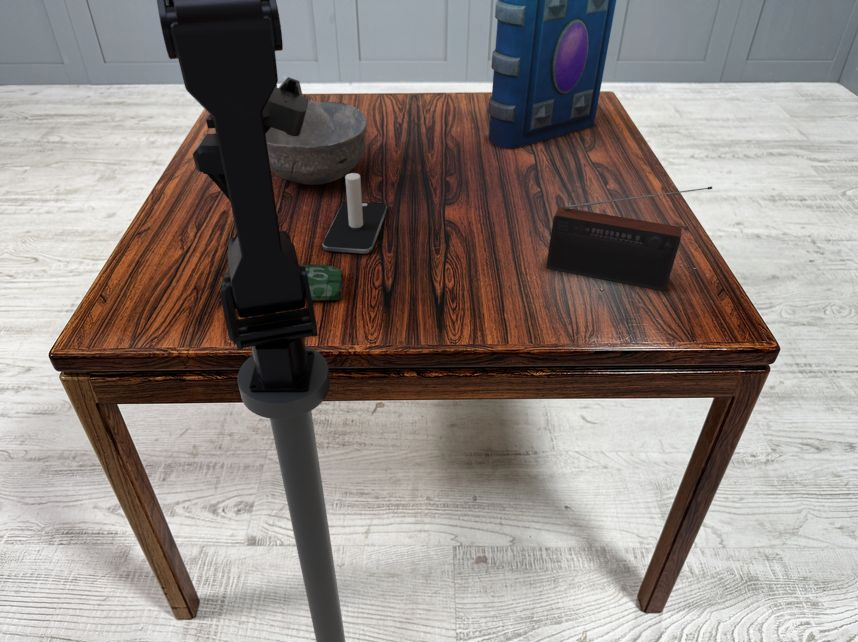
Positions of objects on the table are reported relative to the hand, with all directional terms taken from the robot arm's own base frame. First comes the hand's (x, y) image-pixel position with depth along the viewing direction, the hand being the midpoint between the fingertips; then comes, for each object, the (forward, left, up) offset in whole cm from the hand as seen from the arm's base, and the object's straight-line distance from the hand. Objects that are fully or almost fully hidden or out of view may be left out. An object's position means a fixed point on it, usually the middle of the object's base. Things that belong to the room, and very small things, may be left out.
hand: (249, 194), depth 83 cm
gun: (-1, -3, -13) cm, 14 cm away
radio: (0, -49, -13) cm, 51 cm away
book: (+52, -47, -13) cm, 71 cm away
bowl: (+33, -3, -13) cm, 36 cm away
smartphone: (+14, -12, -13) cm, 23 cm away
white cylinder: (+13, -12, -13) cm, 22 cm away
